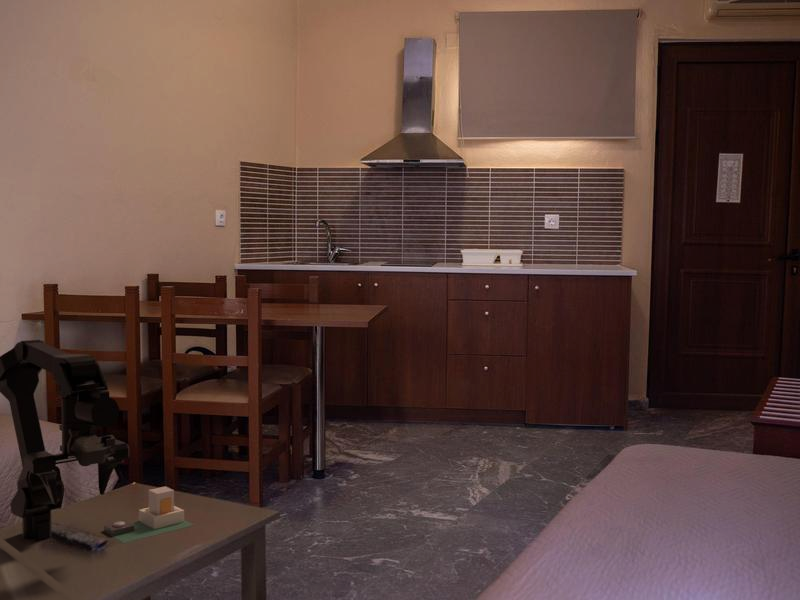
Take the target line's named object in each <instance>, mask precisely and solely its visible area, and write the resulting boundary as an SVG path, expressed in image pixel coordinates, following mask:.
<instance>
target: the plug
mask: <svg viewBox="0 0 800 600" xmlns="http://www.w3.org/2000/svg"><path fill="white" fill-rule="evenodd" d="M174 506H175V490H174V489H172V488H170V487H168V486H166V485H165V486H161V487H156V488H152V489H148V508H149V513H151V514H153V515H155V516H157V515H162V514H166V513H170V512H174Z"/></svg>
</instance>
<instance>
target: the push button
mask: <svg viewBox="0 0 800 600" xmlns="http://www.w3.org/2000/svg"><path fill="white" fill-rule="evenodd" d="M103 530H104V531H106V532H107V533H109V534H111V535H112V536H116V535H120V534H124V533H128V532H132V531H134V525H133V524H132V523H131V522H130V521H127V520H120V521H115V522H111V523H107V524H104V525H103ZM104 531H103V532H104ZM106 532H105V533H106ZM107 533H106V534H107ZM109 534H108V535H109ZM111 535H110V536H111ZM112 536H111V537H112Z"/></svg>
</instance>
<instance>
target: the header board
mask: <svg viewBox="0 0 800 600" xmlns="http://www.w3.org/2000/svg"><path fill="white" fill-rule="evenodd" d="M131 524H133V525H134V531H132V532H128V533H124V534H120V535H116V536H112V535H111V534H109V533H107V532H106V531H104V529H103V530H102V532H104V533H106V534H107V535H108V536H109V535H110V536H111V537H113V538H114V539H116V540H117V541H120V543H122V544H126V543H130V542H133V541H137V540H141V539H142V540H143V539H146V538H150V537H152V536H158V535H161V534H164V533H169V532H173V531H176V530H180V529H185V528H189V527H192V526H194V524H193V523H191V522H189V521H187V520H185V509H182V508H180V507H178V506H176V505H174V512H170V513H166V514H162V515H157V516H155V515H153V514H151V513H149V507H146V508H142V509H141V508H140V509H138V521H137V522H133V523H131Z"/></svg>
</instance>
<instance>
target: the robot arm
mask: <svg viewBox="0 0 800 600" xmlns="http://www.w3.org/2000/svg"><path fill="white" fill-rule="evenodd" d="M42 370H45V371H47V372H48V373H51V374H52V376H51V377H52V380H53V381H54V382H55V383H56V384H57V385H58V386H59V387H60V388H59V389H58V390H57V392H56V395H57V396H58V397H61V400H60V401H61V424H59V426H58V427H59V431H60V432H61V445H59V451H60V452H61V453H55V454H52V453H51V452H48V451H46V447H45V442H44V438H43V432H42V427H41V423H40V419H39V414H38V413H39V412H38V409H37V404H36V403H37V402H36V399H35V392H36V390H37V387H38V385H39V383H40V376H39V375H40V373H41V371H42ZM107 382H108V381H107V379H106V377H105V375H104V373H103V372H102V370H101V367H100V364H99V363H98V361H97V359H96V358H95V356H93V355H91V354H87V353H85V354H83V353H68V352H65V351H64V350H61V349H59V348H56V347H54V346H52V345H49V344H48V343H45V341H44V340H40V339H29V340H27V339H26V340H20V341H19V342H18V341H17V343H16V344H15V345H14V347H13V348H11V349H9V350H8V351H6V352H5V353H3V354H1V355H0V394H1V395H2V396H3V397H4V398H5V399H7V400H8V402H9V406H10V407H9V408H10V413H11V416H12V417H11V418H12V422H13V426H14V431H15V438H16V440H17V445H18V452H19V456H20V460H21V466H22V469H21V471H20V474H19V476H18V478H17V482H16V485H17V486H16V487H17V491H16V493H15V495H14V496H13V498H12V500H11V502H10V504H9V505H10V506H9V507H10V510H11V512H10V513H11V514H12V515H14V516H16V517H18V518H20V519H21V528H22V529H21V530H22V531H21V536H22V539H25V540H29V541H30V540H33V541H37V542H39V541H42V540H48V539H51V537H52V534H51V530H52V531H53V515H52V514H53V512H52V511H54V510H57V509H59V510H60V509H62V507H63V501H64V495H65V489H66V488H65V485H64V482H63V480H62V475H61V469H60V468H59V466H58V465H60V464H65V463H66V464H67V463H71V462H72V463H73V462H78V464H79V465H80V466H81V467H90V466H91V465H95V464H96V465H97V473H98V475H97V476H98V481H97V482H98V491H99V495H101V496H102V495H105V493H106V489H107V486H108V483H109V481H110V478H111V476H112V473H113V471H114V469H115V468H116V467H117V465H119V464H120V463H123V462H124V459H127V458H130V456H131V455H130V453H131V452H130V451H131V450H130V449H131V448H130V446H129V444H128V443H126V442H124V441H121V440H119V439H116V437H115V436H114V435H113V434H109V435H103V436H98V431H97V427H98V428H100V429H101V428H104V429H106V428H110V427H111V426H113V425H114V424H115V423H116V422H117V420H118V419H119V415H120V407H119V405H118V402H117V401H116V400H115V399H114V398H113V397H110V390H109V388H108V384H107Z"/></svg>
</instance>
